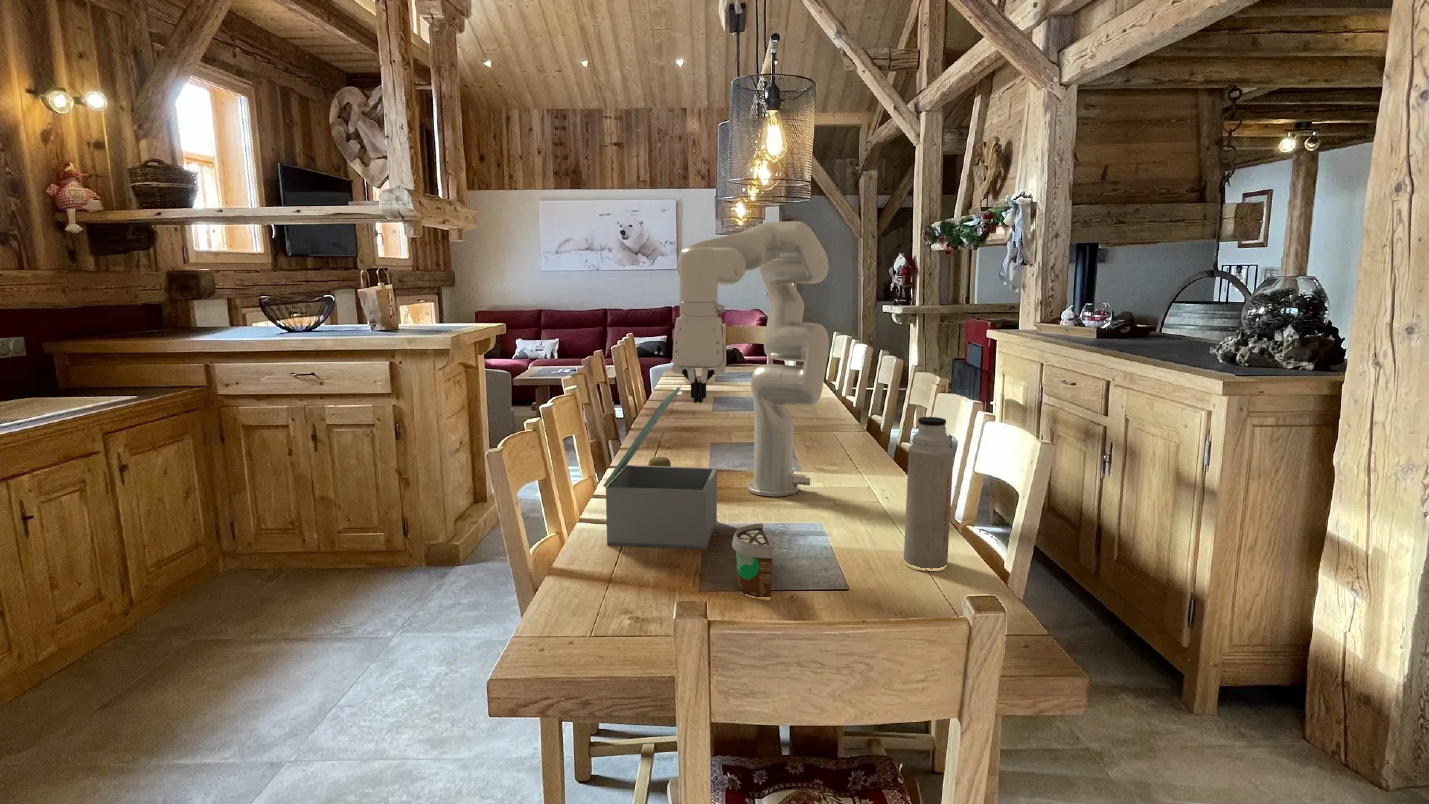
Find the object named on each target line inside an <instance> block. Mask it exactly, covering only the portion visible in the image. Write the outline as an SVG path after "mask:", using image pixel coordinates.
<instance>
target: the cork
mask: <svg viewBox="0 0 1429 804" xmlns="http://www.w3.org/2000/svg"><path fill="white" fill-rule="evenodd" d="M648 466H666V467H672V464H671V461H670V459H669V458H668V457H665V456H654V457H651V458H650V459H649V461H648Z"/></svg>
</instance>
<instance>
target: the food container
mask: <svg viewBox="0 0 1429 804" xmlns="http://www.w3.org/2000/svg"><path fill="white" fill-rule="evenodd" d="M731 547H732V549H733V550H734V551H735V555H736V557H735V558H736V572H737V573H736V574H737V587H738V588H739V590H738V592H739V591H741V592H742V593H744V594H748V595H751V596H755V597H771V598H772V581H773V580H772V579H773V559H774V549H773V548H774V546H773V545H771V544H769V540H768V537H767V535H766V534H765V532H764V523H752V524H748V525H744V526H742V527H738V528H737V530H736V531H735V532H734V534H733V537H732V542H731Z"/></svg>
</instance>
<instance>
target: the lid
mask: <svg viewBox="0 0 1429 804" xmlns="http://www.w3.org/2000/svg"><path fill="white" fill-rule="evenodd" d="M680 390H681V388H680V387H679V386H677V387H676V388H675V389H674V390H673V391H672V392H671V393H670V394H669V395H667V397H666V398H664V399H663V400H662V401H661V402H660V404H659V405H658V407H657V408H656V410H655V411H654V413H652V415H651V417H650V419H649V420H648V421H647V423H646V424H645V425H644V427H643V428H642V429H641V431H640V432H639V434H638V435H637V436H636V438H635V439H634V441H633V443H632V444H631V445H630V447H629V448H628V450H627V451H626V453H625V454H624V455H623V456H622V458H621V459H620V461H619V462H618V463H617V465H616V467H615V468H614V470H613V471H612V473H611V474H610V475H609V477H608V478H607V480H606V481H605V482H604V484H603V485H602V486H603V487H604V488H605V489H606V487H607V486H608V485H609V484H610V483H611V482H612V481H613V479H614V478H615V477H616V476H617V475H618V474H619V473H620V472H621V471H622V470H623V469H624V468H625V467H626V466H627V465H628V464H629V463H630V461H631V459H632V458H633V457H634V455H635V454H636V452H637V451H638V449H639V448H640V447H641V446H642V445H643V443H644V441H645V440H646V439H647V437H648V436H649V435H650V433H651V431H652V430H653V428H654V427H655V425H656V424H657V423H658V421H659V420H660V418H661V417H662V416H663V414H664V413H665V412H666V410H667V408H668V407H669V406H670V405H671V403H672V402H673V400H674V398H675V397H676V396H677V394H678V393H679V392H680Z"/></svg>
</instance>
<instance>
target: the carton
mask: <svg viewBox="0 0 1429 804" xmlns="http://www.w3.org/2000/svg"><path fill="white" fill-rule="evenodd" d="M605 505H606V507H605V508H606V509H605V510H606V511H605V512H606V515H605V516H606V545H607V546H609V547H632V548H651V549H652V548H654V549H673V550H674V549H675V550H695V551H698V550H699V551H706V550H707V548H708V545H709V544H710V541H711V538H712V534H713V532H714V529H715V527H716V524H717V523H718V512H717V511H718V468H715V467H692V466H690V467H689V466H671V467H666V466H649V465H631V464H629V465H628V464H627V465H626V466H625V467H624V468H623V469H622V470H621V472H620V473H619V474H618V475H617V476H616V477H615V478H614V479H613V480H612V481H611V482H610V483H609V484H608V485H607V487H606V488H605Z"/></svg>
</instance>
